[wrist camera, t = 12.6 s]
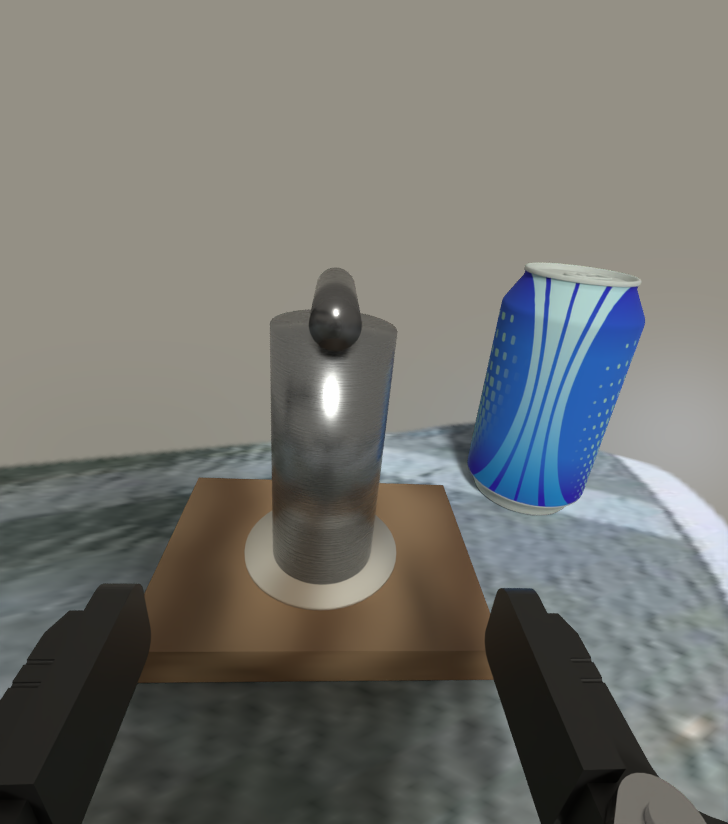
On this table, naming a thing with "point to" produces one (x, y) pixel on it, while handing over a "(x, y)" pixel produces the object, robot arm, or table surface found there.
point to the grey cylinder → (327, 431)
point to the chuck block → (314, 597)
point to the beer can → (553, 383)
